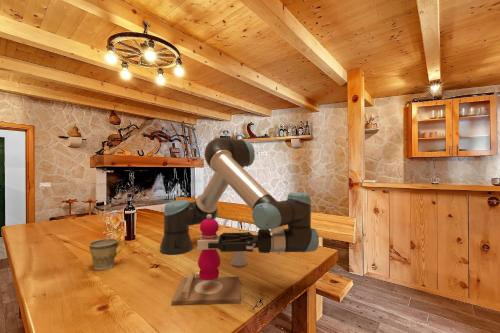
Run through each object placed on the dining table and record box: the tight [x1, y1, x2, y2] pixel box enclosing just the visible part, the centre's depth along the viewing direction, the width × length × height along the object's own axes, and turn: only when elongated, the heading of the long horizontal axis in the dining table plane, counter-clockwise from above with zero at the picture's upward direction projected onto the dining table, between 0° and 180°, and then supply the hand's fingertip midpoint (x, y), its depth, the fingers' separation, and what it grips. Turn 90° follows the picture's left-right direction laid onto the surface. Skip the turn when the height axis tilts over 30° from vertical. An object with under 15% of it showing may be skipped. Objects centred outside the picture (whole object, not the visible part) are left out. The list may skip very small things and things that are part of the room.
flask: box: [230, 251, 248, 268], centre depth 101 cm, size 7×7×10 cm
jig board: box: [170, 271, 241, 306], centre depth 78 cm, size 20×15×3 cm
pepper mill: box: [197, 214, 221, 280], centre depth 78 cm, size 7×7×20 cm
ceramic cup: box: [88, 237, 127, 271], centre depth 98 cm, size 13×10×10 cm
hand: (199, 242), depth 78 cm, fingers closed on pepper mill, 5 cm apart
